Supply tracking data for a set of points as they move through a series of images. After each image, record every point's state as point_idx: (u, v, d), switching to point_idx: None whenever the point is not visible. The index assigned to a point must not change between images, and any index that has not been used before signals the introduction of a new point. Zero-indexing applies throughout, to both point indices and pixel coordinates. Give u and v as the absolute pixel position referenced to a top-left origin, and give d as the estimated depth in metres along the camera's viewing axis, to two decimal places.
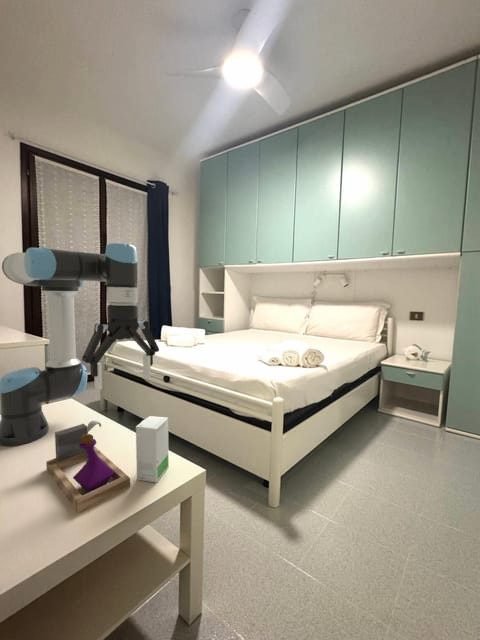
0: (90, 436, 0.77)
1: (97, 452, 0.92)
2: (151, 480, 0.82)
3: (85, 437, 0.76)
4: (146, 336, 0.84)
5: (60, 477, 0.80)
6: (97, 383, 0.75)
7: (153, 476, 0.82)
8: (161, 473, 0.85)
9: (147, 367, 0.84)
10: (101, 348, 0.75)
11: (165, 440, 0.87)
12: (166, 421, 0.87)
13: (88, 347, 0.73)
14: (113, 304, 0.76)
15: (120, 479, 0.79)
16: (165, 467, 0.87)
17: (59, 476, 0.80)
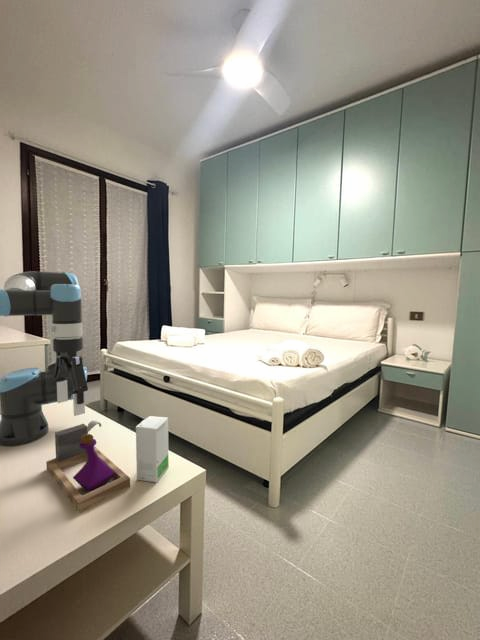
0: (90, 436, 0.77)
1: (97, 452, 0.92)
2: (151, 480, 0.82)
3: (85, 437, 0.76)
4: None
5: (60, 477, 0.80)
6: None
7: (153, 476, 0.82)
8: (161, 473, 0.85)
9: None
10: None
11: (165, 440, 0.87)
12: (166, 421, 0.87)
13: None
14: None
15: (120, 479, 0.79)
16: (165, 467, 0.87)
17: (59, 476, 0.80)
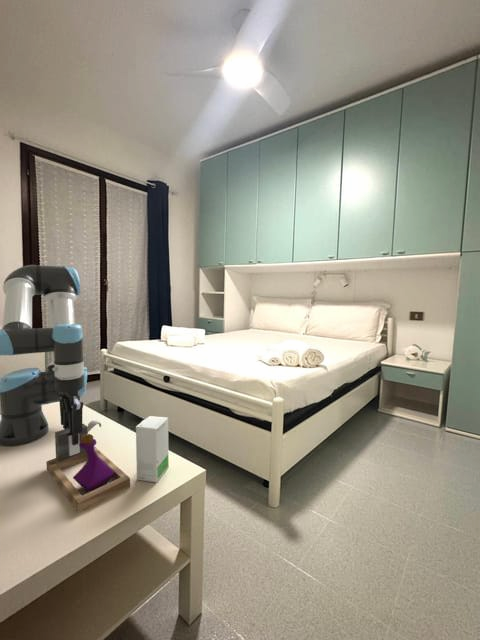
0: (90, 436, 0.77)
1: (97, 452, 0.92)
2: (151, 480, 0.82)
3: (85, 437, 0.76)
4: None
5: (60, 477, 0.80)
6: None
7: (153, 476, 0.82)
8: (161, 473, 0.85)
9: None
10: None
11: (165, 440, 0.87)
12: (166, 421, 0.87)
13: None
14: None
15: (120, 479, 0.79)
16: (165, 467, 0.87)
17: (59, 476, 0.80)
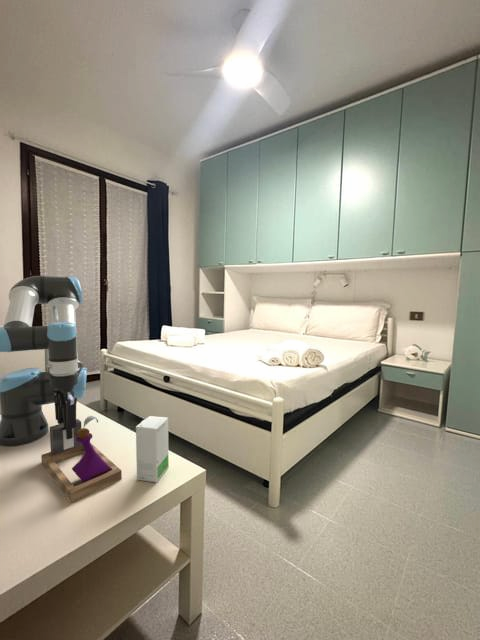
0: (86, 430, 0.80)
1: None
2: (151, 480, 0.82)
3: (81, 431, 0.79)
4: None
5: (54, 469, 0.83)
6: None
7: (153, 476, 0.82)
8: (161, 473, 0.85)
9: None
10: None
11: (165, 440, 0.87)
12: (166, 421, 0.87)
13: None
14: None
15: (112, 471, 0.83)
16: (165, 467, 0.87)
17: (53, 468, 0.83)
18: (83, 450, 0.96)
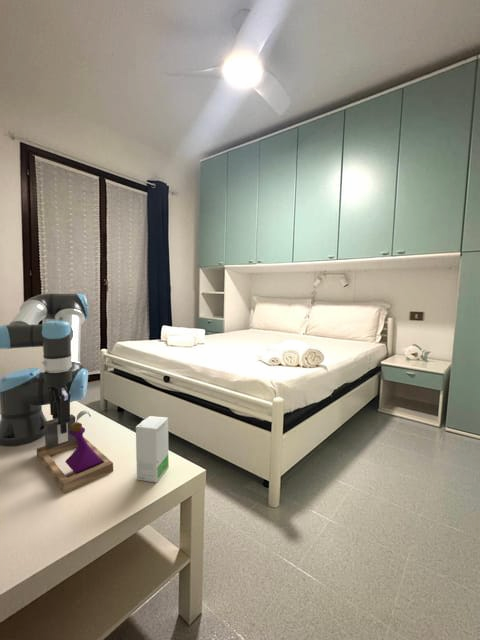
0: (79, 424, 0.83)
1: None
2: (151, 480, 0.82)
3: (74, 425, 0.83)
4: None
5: (49, 462, 0.86)
6: None
7: (153, 476, 0.82)
8: (161, 473, 0.85)
9: None
10: None
11: (165, 440, 0.87)
12: (166, 421, 0.87)
13: None
14: None
15: (104, 464, 0.86)
16: (165, 467, 0.87)
17: (47, 461, 0.87)
18: (77, 444, 1.00)
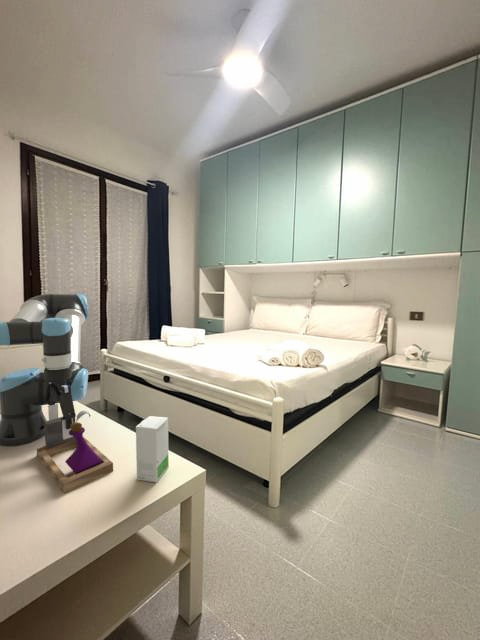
0: (79, 424, 0.83)
1: None
2: (151, 480, 0.82)
3: (74, 425, 0.83)
4: None
5: (49, 461, 0.86)
6: None
7: (153, 476, 0.82)
8: (161, 473, 0.85)
9: None
10: None
11: (165, 440, 0.87)
12: (166, 421, 0.87)
13: None
14: None
15: (104, 464, 0.86)
16: (165, 467, 0.87)
17: (47, 461, 0.87)
18: None
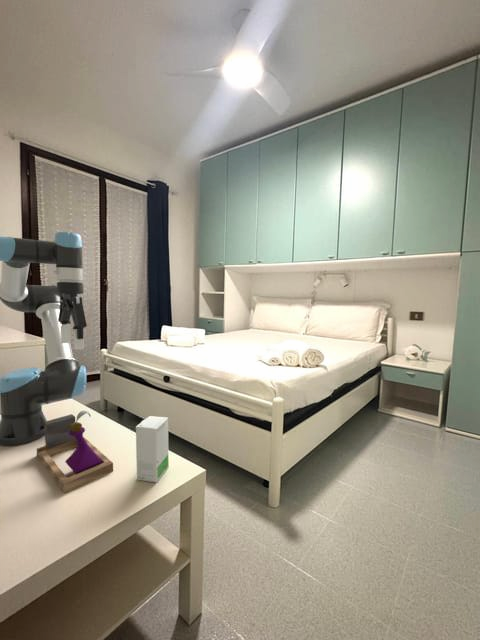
0: (79, 424, 0.84)
1: None
2: (151, 480, 0.82)
3: (74, 425, 0.83)
4: None
5: (49, 461, 0.86)
6: None
7: (153, 476, 0.82)
8: (161, 473, 0.85)
9: None
10: None
11: (165, 440, 0.87)
12: (166, 421, 0.87)
13: None
14: None
15: (104, 464, 0.86)
16: (165, 467, 0.87)
17: (47, 461, 0.87)
18: (77, 444, 1.00)
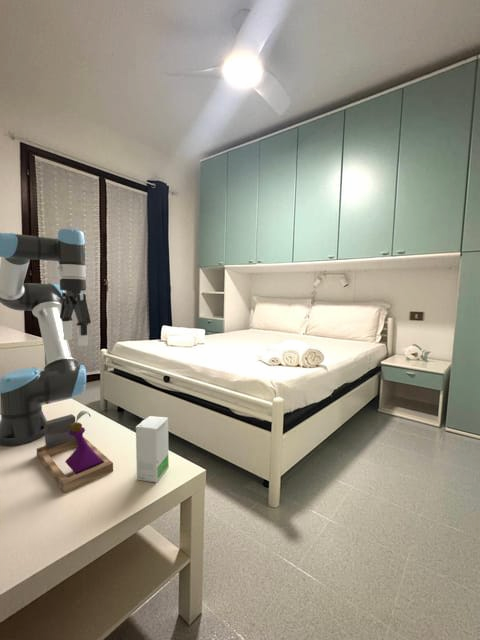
0: (79, 424, 0.83)
1: None
2: (151, 480, 0.82)
3: (74, 425, 0.83)
4: None
5: (49, 461, 0.86)
6: None
7: (153, 476, 0.82)
8: (161, 473, 0.85)
9: None
10: None
11: (165, 440, 0.87)
12: (166, 421, 0.87)
13: None
14: None
15: (104, 464, 0.86)
16: (165, 467, 0.87)
17: (47, 461, 0.87)
18: (77, 444, 1.00)
